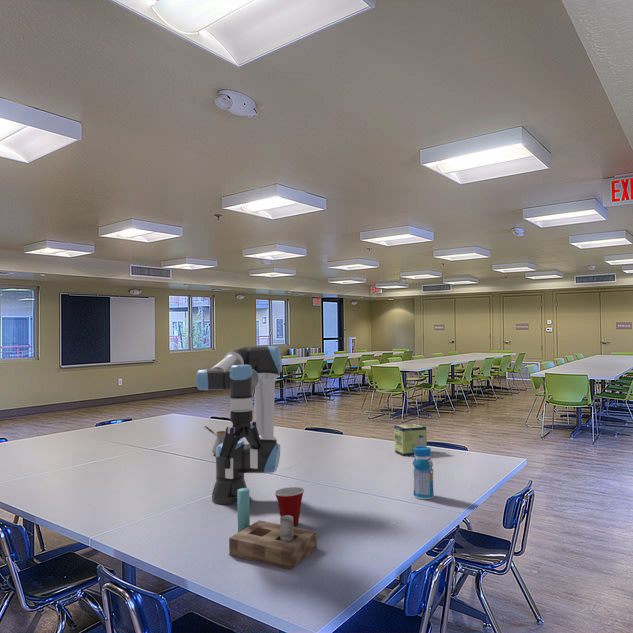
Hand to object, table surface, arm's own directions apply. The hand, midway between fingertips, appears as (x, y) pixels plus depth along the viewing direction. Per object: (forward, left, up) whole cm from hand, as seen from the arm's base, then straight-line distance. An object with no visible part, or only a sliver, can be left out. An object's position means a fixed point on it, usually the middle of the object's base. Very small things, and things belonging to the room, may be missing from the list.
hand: (242, 473), depth 161 cm
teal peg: (0, 0, -21) cm, 21 cm away
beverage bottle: (-64, +44, -21) cm, 81 cm away
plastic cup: (-15, +9, -21) cm, 28 cm away
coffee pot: (-89, -87, -21) cm, 126 cm away
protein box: (-135, +17, -21) cm, 138 cm away
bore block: (+6, +16, -21) cm, 27 cm away
